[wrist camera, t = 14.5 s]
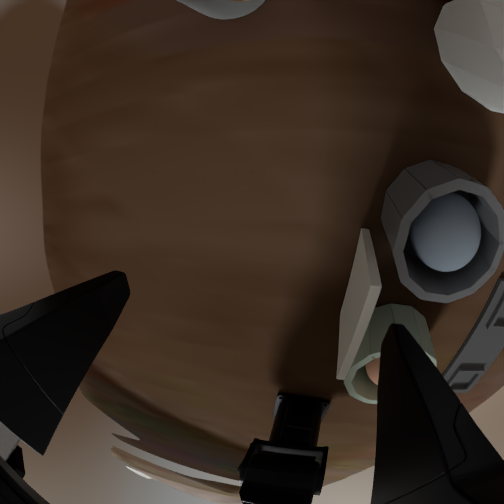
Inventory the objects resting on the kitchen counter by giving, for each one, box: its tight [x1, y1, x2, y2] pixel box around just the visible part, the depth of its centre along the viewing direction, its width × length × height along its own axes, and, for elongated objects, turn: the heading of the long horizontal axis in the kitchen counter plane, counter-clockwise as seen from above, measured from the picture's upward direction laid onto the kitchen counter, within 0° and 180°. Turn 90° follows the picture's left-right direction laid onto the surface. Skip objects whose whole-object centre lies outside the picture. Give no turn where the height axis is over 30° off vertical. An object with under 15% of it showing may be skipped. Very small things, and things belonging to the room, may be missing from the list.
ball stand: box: [442, 278, 504, 393], centre depth 20 cm, size 16×6×1 cm, turn 179°
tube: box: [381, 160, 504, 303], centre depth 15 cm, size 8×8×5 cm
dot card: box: [336, 228, 382, 380], centre depth 18 cm, size 8×1×7 cm, turn 179°
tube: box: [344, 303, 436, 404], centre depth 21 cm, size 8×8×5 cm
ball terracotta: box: [365, 357, 380, 385], centre depth 20 cm, size 5×5×5 cm
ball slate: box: [409, 192, 481, 272], centre depth 15 cm, size 5×5×5 cm
